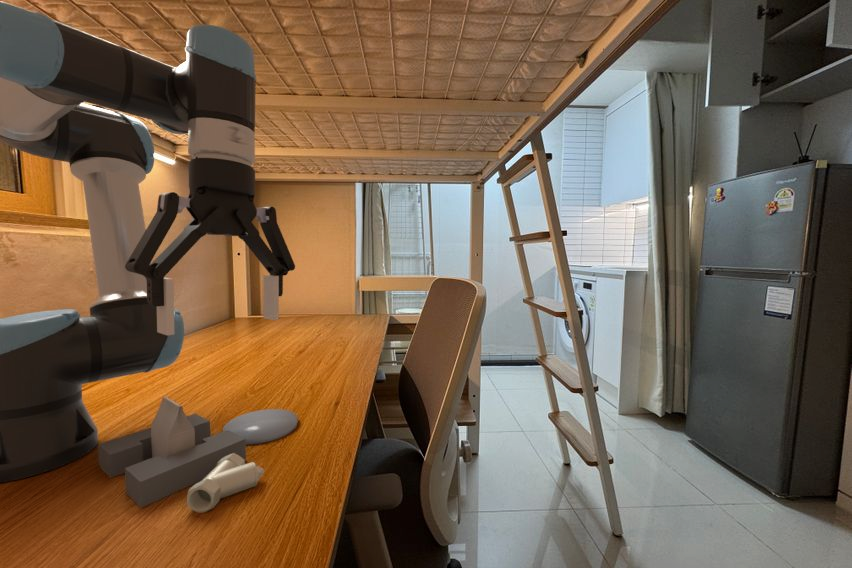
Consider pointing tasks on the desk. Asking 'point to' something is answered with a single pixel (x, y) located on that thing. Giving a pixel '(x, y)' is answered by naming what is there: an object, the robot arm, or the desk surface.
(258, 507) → the desk surface
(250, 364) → the desk surface
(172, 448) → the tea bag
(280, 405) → the desk surface
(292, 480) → the desk surface
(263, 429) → the blue-grey round plate
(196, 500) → the pipe fitting
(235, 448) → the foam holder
